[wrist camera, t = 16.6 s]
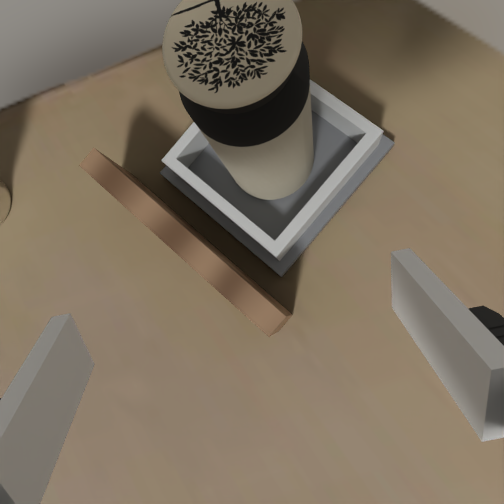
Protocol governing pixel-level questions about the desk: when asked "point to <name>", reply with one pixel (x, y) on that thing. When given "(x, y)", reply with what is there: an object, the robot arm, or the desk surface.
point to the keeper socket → (298, 203)
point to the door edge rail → (188, 243)
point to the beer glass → (4, 201)
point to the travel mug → (246, 88)
